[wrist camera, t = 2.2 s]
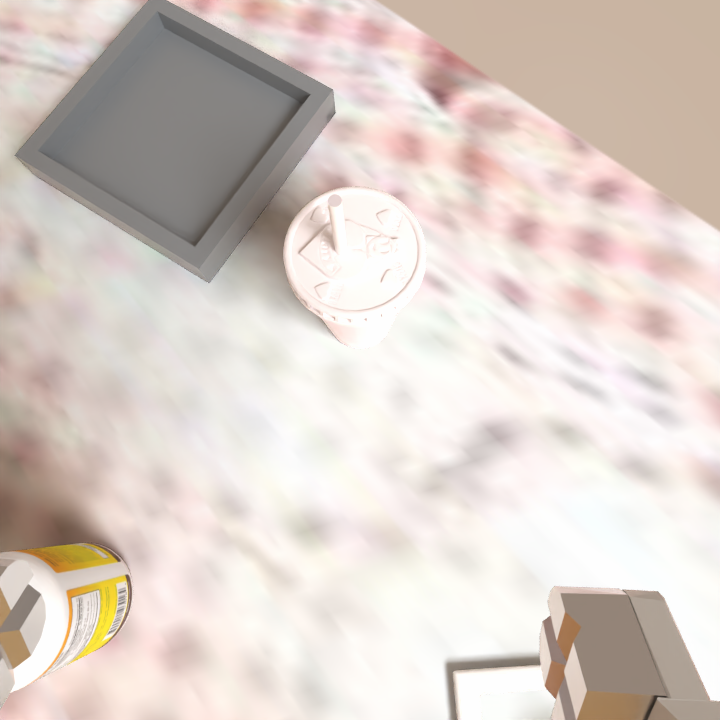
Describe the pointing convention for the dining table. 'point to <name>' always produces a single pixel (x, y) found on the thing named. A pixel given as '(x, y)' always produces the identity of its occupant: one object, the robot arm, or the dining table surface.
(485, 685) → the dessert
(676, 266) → the dining table surface
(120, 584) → the supplement bottle
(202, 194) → the tray
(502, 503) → the dining table surface
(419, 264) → the smoothie
